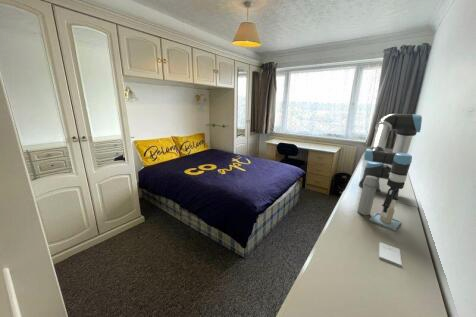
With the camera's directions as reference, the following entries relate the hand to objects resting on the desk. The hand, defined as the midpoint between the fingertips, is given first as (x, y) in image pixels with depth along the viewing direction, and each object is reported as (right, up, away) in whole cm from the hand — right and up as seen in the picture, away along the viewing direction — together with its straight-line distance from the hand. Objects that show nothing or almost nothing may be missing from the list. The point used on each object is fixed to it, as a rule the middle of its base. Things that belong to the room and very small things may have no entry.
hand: (387, 212), depth 116 cm
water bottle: (-8, -3, +10) cm, 13 cm away
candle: (0, -6, +1) cm, 6 cm away
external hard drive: (-18, -14, -24) cm, 33 cm away
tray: (0, -6, +1) cm, 6 cm away
